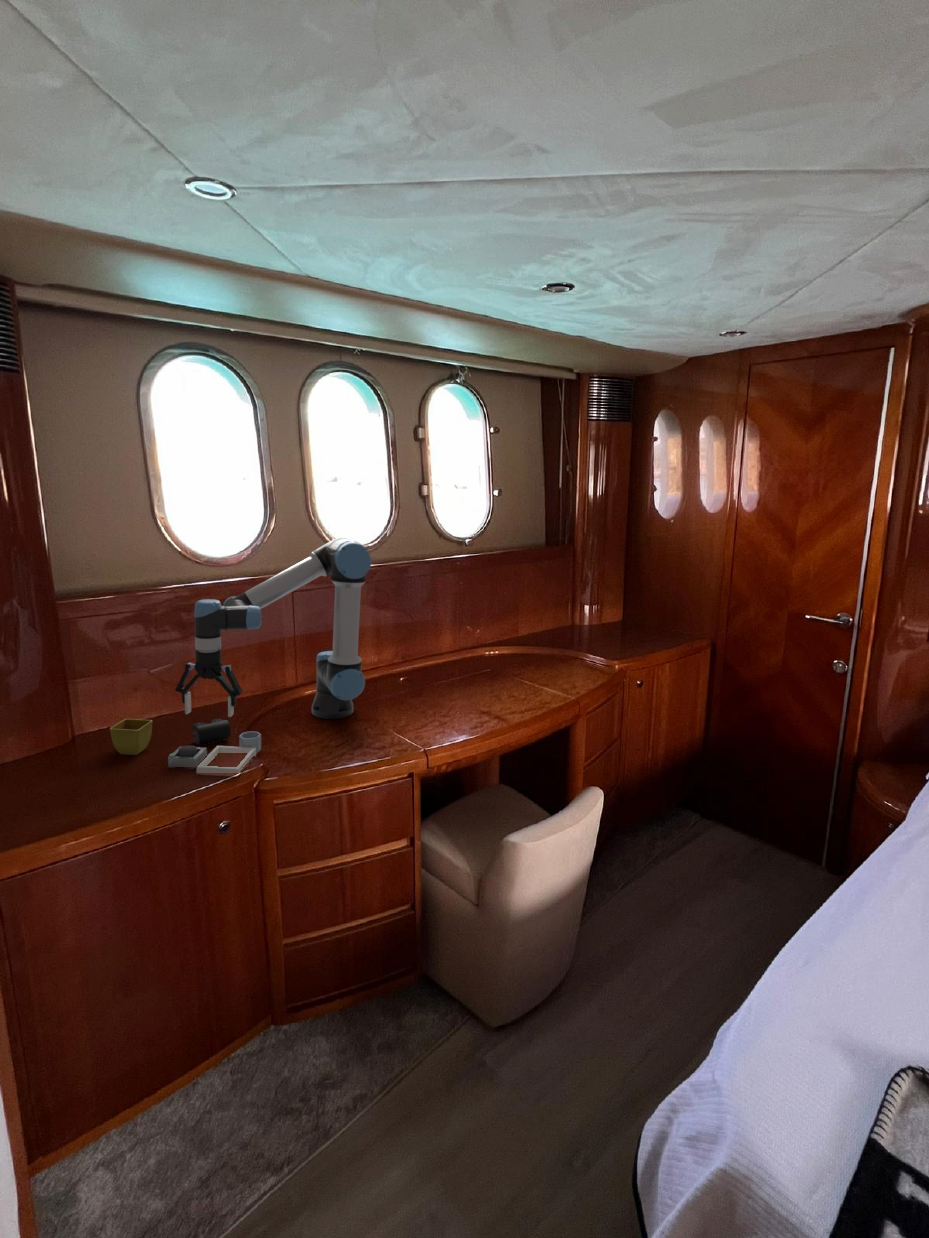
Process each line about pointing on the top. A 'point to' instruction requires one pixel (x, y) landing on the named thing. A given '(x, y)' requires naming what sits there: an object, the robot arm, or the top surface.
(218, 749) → the light grey rectangular frame
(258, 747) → the blue-grey short hollow cylinder
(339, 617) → the robot arm
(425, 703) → the top surface
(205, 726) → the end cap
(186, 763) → the box
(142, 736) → the flower pot
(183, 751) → the test button
